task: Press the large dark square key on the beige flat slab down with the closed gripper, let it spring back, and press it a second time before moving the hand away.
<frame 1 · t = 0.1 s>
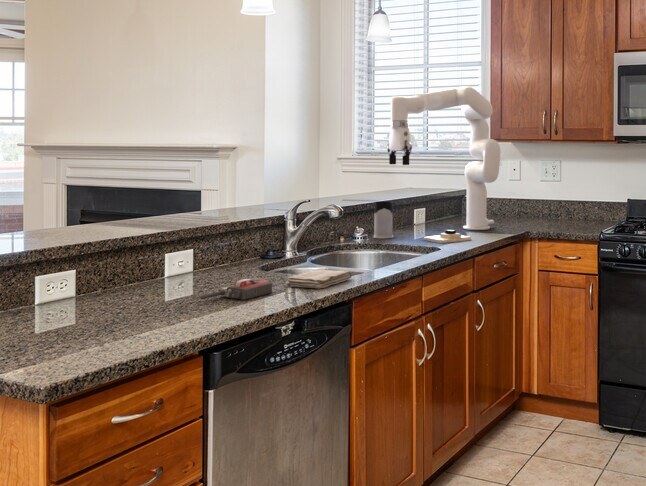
hand: (399, 164, 322), 31 cm above the worktop, tool pointing down, fingers open, 9 cm apart
washcloth: (319, 283, 218), on the worktop
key: (450, 232, 310), point 3 cm above the worktop, slide at 0.1 cm
walkie-talkie: (238, 297, 198), on the worktop
beige flat slab: (447, 240, 311), on the worktop
glass holder: (382, 236, 323), on the worktop
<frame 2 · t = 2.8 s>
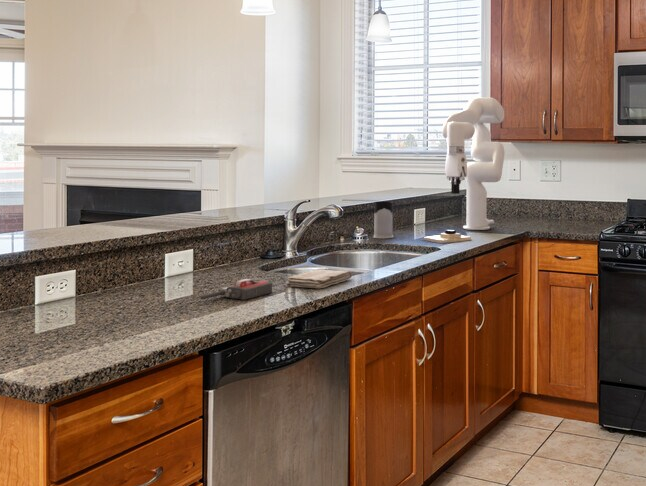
hand: (455, 193, 320), 19 cm above the worktop, tool pointing down, fingers closed
nothing on the worktop moved.
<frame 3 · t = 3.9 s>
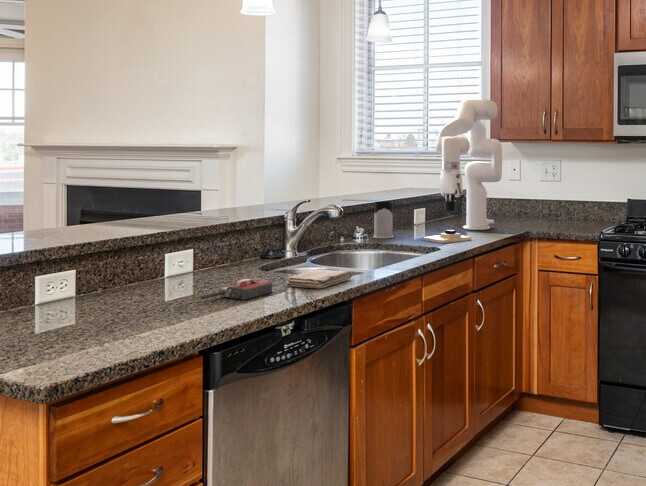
hand: (450, 210, 309), 13 cm above the worktop, tool pointing down, fingers closed
nothing on the worktop moved.
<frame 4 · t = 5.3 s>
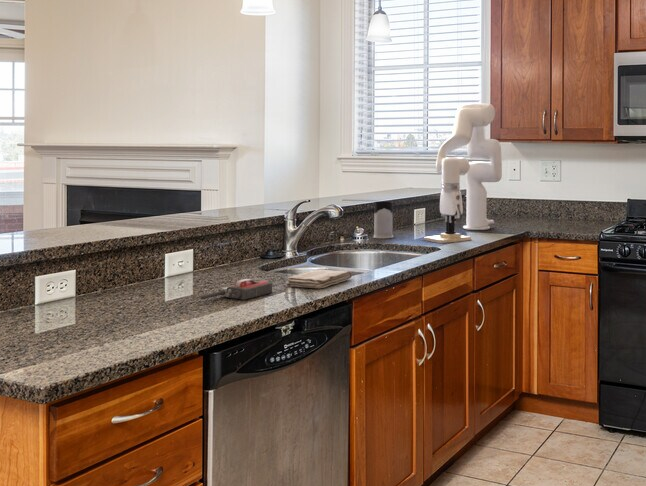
hand: (450, 231, 310), 4 cm above the worktop, tool pointing down, fingers closed
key: (450, 233, 310), point 3 cm above the worktop, slide at -0.5 cm, touching gripper
everything else where it was.
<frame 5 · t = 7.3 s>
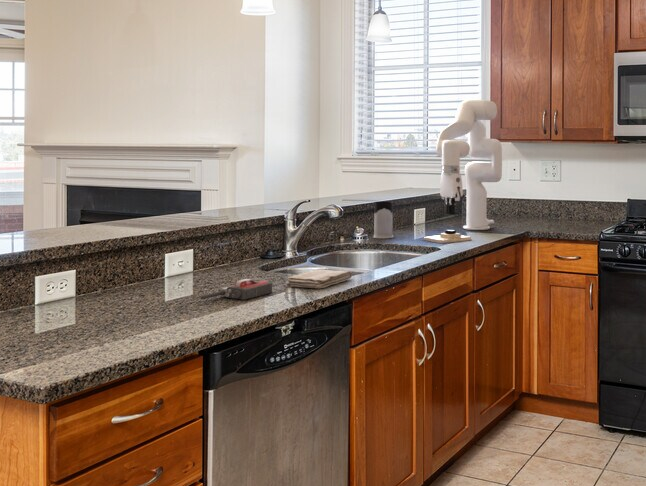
hand: (450, 214, 310), 11 cm above the worktop, tool pointing down, fingers closed
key: (450, 232, 310), point 3 cm above the worktop, slide at 0.1 cm
everything else where it was.
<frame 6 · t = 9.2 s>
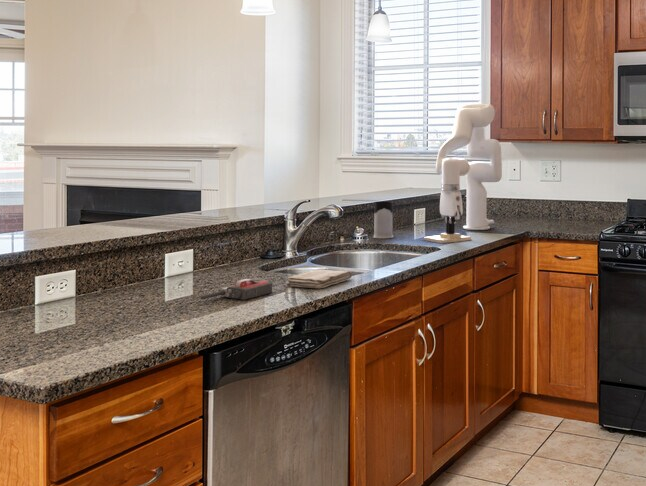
hand: (450, 232, 310), 3 cm above the worktop, tool pointing down, fingers closed
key: (450, 234, 310), point 2 cm above the worktop, slide at -0.9 cm, touching gripper
everything else where it was.
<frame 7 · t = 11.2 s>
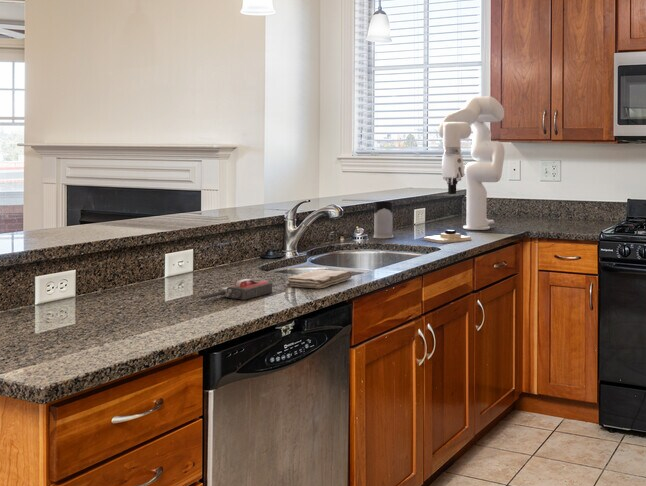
hand: (452, 193, 320), 19 cm above the worktop, tool pointing down, fingers closed
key: (450, 232, 310), point 3 cm above the worktop, slide at 0.1 cm
everything else where it was.
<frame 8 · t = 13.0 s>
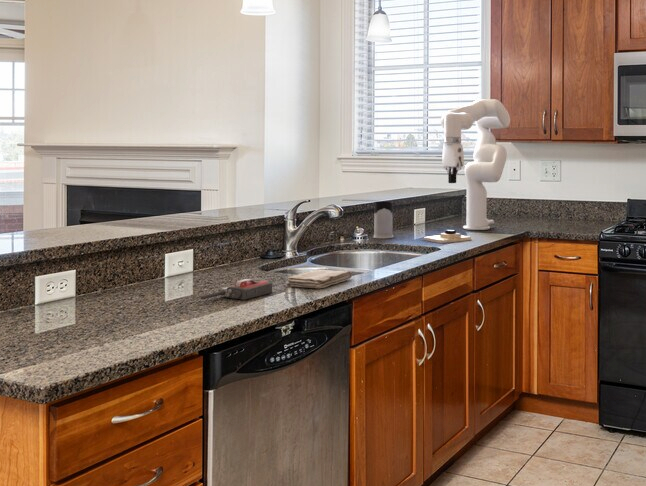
hand: (452, 182, 326), 23 cm above the worktop, tool pointing down, fingers closed
nothing on the worktop moved.
at the end: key pushed in 0.9 cm at the most during the clip and back out by the end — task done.
